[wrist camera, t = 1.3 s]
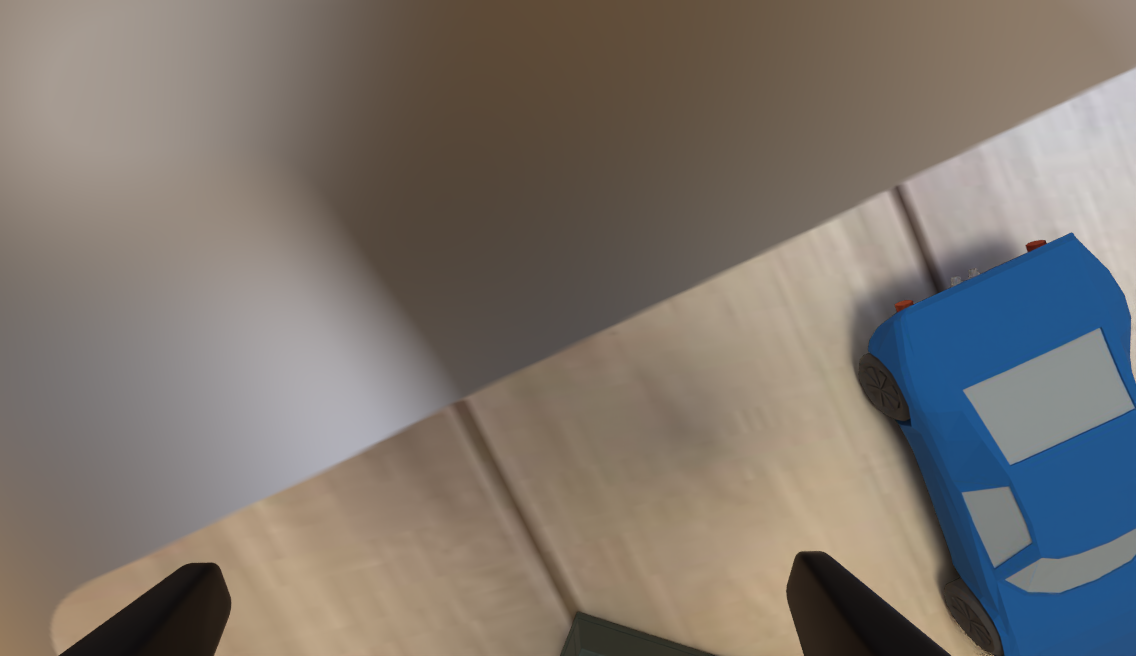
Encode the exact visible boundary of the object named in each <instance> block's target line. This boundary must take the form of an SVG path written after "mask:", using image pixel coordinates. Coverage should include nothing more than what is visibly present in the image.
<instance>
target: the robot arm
mask: <svg viewBox="0 0 1136 656" xmlns="http://www.w3.org/2000/svg"><path fill="white" fill-rule="evenodd" d="M786 593H787V600H788V604H789V608H790V611H791V614H792V617H793V621H794V624H795V627H796V631H797V634H798V637H799V640H800V644H801V647H802V650H803V654H804V656H951V655H950V654H949V653H947V652H946V651H945V650H944V649H943V648H941V647H940V646H939V645H938V644H937V643H935V642H934V641H933V640H932V639H930V638H929V637H928V636H927V635H926V634H924V633H923V632H922V631H921V630H920V629H918V628H917V627H916V626H915V625H913V624H912V623H911V622H910V621H909V620H907V619H906V618H905V617H904V616H902V615H901V614H900V613H899V612H898V611H896V610H895V609H894V608H893V607H892V606H890V605H889V604H888V603H887V602H885V601H884V600H883V599H882V598H881V597H879V596H878V595H877V594H876V593H875V592H873V591H872V590H871V589H870V588H868V587H867V586H866V585H865V584H864V583H862V582H861V581H860V580H859V579H858V578H856V577H855V576H854V575H853V574H851V573H850V572H849V571H848V570H847V569H845V568H844V567H843V566H842V565H840V564H839V563H838V562H837V561H836V560H834V559H833V558H832V557H831V556H829V555H828V554H826V553H824V552H821V551H802V552H799V553H798V554H797V555H796V557H795V559H794V563H793V566H792V570H791V573H790V576H789V580H788V583H787V590H786ZM230 611H231V597H230V594H229V591H228V588H227V586H226V583H225V580H224V577H223V575H222V572H221V569H220V567H219V566H218V565H217V564H215V563H189V564H186V565H184V566H182V567H180V568H179V569H178V570H176V571H175V572H173V573H172V574H171V575H169V576H168V577H166V578H165V579H164V580H162V581H161V582H160V583H158V584H157V585H155V586H154V587H153V588H151V589H150V590H149V591H147V592H146V593H144V594H143V595H142V596H140V597H139V598H138V599H136V600H135V601H133V602H132V603H131V604H129V605H128V606H126V607H125V608H124V609H122V610H121V611H120V612H118V613H117V614H115V615H114V616H113V617H111V618H110V619H109V620H107V621H106V622H104V623H103V624H102V625H100V626H99V627H98V628H96V629H95V630H93V631H92V632H91V633H89V634H88V635H86V636H85V637H84V638H82V639H81V640H80V641H78V642H77V643H75V644H74V645H73V646H71V647H70V648H69V649H67V650H66V651H64V652H63V653H62V654H60V655H59V656H214V654H215V652H216V649H217V646H218V644H219V641H220V639H221V636H222V633H223V631H224V628H225V626H226V623H227V620H228V618H229V615H230Z"/></svg>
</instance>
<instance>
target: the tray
mask: <svg viewBox="0 0 1136 656" xmlns="http://www.w3.org/2000/svg"><path fill="white" fill-rule="evenodd" d="M560 656H715V655H712V654H708V653H705V652H702V651H699V650H696V649H693V648H690V647H686V646H683V645H680V644H677V643H674V642H671V641H668V640H665V639H661V638H658V637H655V636H652V635H649V634H646V633H643V632H639V631H636V630H633V629H630V628H627V627H624V626H621V625H618V624H614V623H611V622H608V621H605V620H602V619H599V618H596V617H592V616H589V615H586V614H583V613H580V612H577V614H576V617H575V619H574V622H573V624H572V627H571V629H570V632H569V634H568V637H567V640H566V642H565V645H564V647H563V650H562V652H561V655H560Z"/></svg>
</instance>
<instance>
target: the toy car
mask: <svg viewBox="0 0 1136 656" xmlns="http://www.w3.org/2000/svg"><path fill="white" fill-rule="evenodd" d="M1026 248H1027V251H1028V253H1026V254H1023V255H1021V256H1019V257H1017V258H1015V259H1012V260H1010V261H1008V262H1006V263H1004V264H1001V265H999V266H996V267H994V268H992V269H990V270H988V271H986V272H984V273H982V274H980V273H978V270H977V268H973V269H970V270H969V276H968V277H969V279H968V280H966V281H961V279H960V277H959V276H956V277H953V278H951V281H952V284H951V286H952V287H951V288H949V289H946V290H944V291H942V292H940V293H938V294H935V295H933V296H931V297H929V298H927V299H925V300H922V301H920V302H918V303H916V304H914V303H913V301H911V300H904V301H901V302H898V303H897V304H895V308H896V310H897V313H896V314H895V315H893V316H892V317H891V318H889V319H888V320H886V321H885V322H884V323H882V324H881V325H880V326H879V327H878V328H877V329H876V331H875V332H874V333H873V335H872V337H871V339H870V341H869V346H868V351H869V352H870V353H868V354H866V355H864V356H863V357H862V358H861V359H860V362H859V378H860V381H861V384H862V386H863V388H864V390H865V392H866V394H867V396H868V397H869V398H870V400H871V401H872V402H873V404H874V405H875V406H876V407H877V408H878V409H879V410H880V411H881V412H883V413H885V414H886V415H888V416H889V417H891V418H894V419H895V420H896V421H897V423H898V424H899V425H900V427H901V429H902V431H903V433H904V435H905V437H906V439H907V441H908V442H909V444H910V446H911V448H912V450H913V452H914V455H915V457H916V460H917V463H918V465H919V468H920V471H921V473H922V476H923V478H924V481H925V484H926V486H927V489H928V492H929V495H930V498H931V501H932V503H933V506H934V509H935V512H936V515H937V517H938V520H939V523H940V526H941V529H942V532H943V534H944V537H945V540H946V543H947V546H948V548H949V551H950V554H951V557H952V563H953V565H954V567H955V568H956V570H957V572H958V573H959V575H960V576H961V578H959V579H957V580H955V581H952V582H950V583H948V584H946V587H945V599H946V603H947V605H948V607H949V609H950V611H951V613H952V615H953V616H954V618H955V619H956V621H957V622H958V624H959V625H960V626H961V627H962V629H963V630H964V631H965V632H966V633H967V635H968V636H969V637H970V638H971V639H972V640H973V641H974V642H975V643H976V644H977V645H979V646H980V647H981V648H983V649H984V650H986V651H987V652H989V653H991V654H993V655H994V656H1136V383H1135V380H1134V377H1133V374H1132V369H1131V361H1130V337H1131V315H1130V312H1129V309H1128V305H1127V302H1126V299H1125V295H1124V293H1123V292H1122V290H1121V289H1120V287H1119V285H1118V284H1117V282H1116V281H1115V279H1114V278H1113V276H1112V275H1111V273H1110V271H1109V270H1108V269H1107V268H1106V267H1105V266H1104V265H1103V264H1102V263H1101V262H1100V261H1099V260H1098V259H1097V258H1096V257H1095V256H1094V255H1093V254H1092V253H1091V252H1090V251H1089V250H1088V249H1087V248H1086V247H1085V246H1084V245H1083V244H1082V243H1081V242H1080V241H1079V240H1078V239H1077V238H1076V237H1075V236H1074V234H1073V233H1069V234H1067V235H1065V236H1063V237H1061V238H1058V239H1056V240H1054V241H1052V242H1050V243H1046V240H1038V241H1033V242H1030V243H1028V244H1027V245H1026Z"/></svg>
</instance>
